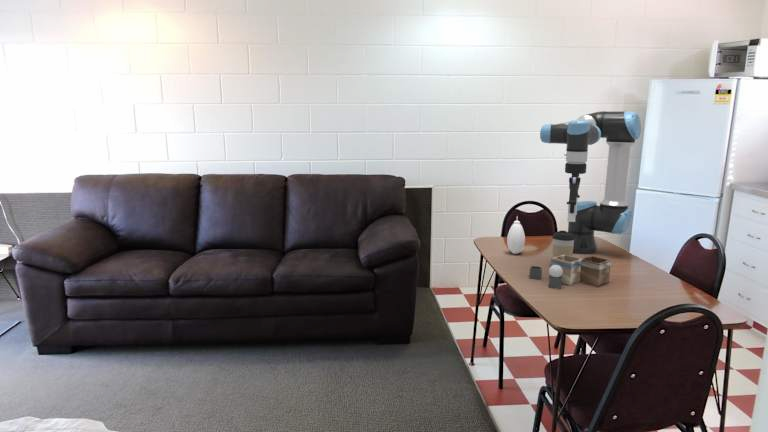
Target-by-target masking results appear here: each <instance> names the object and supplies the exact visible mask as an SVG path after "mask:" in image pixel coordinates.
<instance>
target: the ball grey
mask: <svg viewBox="0 0 768 432" xmlns="http://www.w3.org/2000/svg"><path fill="white" fill-rule="evenodd" d="M548 274H549V276H550V275H551V276H552V277H556V278H559V277H561V276H562V274H563V270H562V268H561V267H560V266H559V265H553V266H552V265H551V266H550V267H549V268H548Z"/></svg>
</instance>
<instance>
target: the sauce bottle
mask: <svg viewBox="0 0 768 432" xmlns="http://www.w3.org/2000/svg"><path fill="white" fill-rule="evenodd" d="M518 219H519V218H518V215H517V216H516V220H514V221H513V223H512V224H511V226H510V228H509V231H508V233H507V237H506V245H507V248H508V250H509V251H510V252H511V253H512V254H514V255H518V254H519V253H521V252H522V251H523V249H524V247H525V244H526V235H525V231H524V228H523V225H522V224H521V221H519V220H518Z"/></svg>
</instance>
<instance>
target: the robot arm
mask: <svg viewBox="0 0 768 432" xmlns="http://www.w3.org/2000/svg"><path fill="white" fill-rule="evenodd" d="M641 133H642V122H641V117H640V116H639V114H638V113H637V112H635V111H628V110H627V111H626V110H625V111H597V112H591V113H588V114H583V115H581V116H579V117H578V118H577V119H573V120H569V121H566V122H565V121H564V122H560V123H556V124H555V123H554V124H553V123H549V124H548V123H547V124H543V125H542V126H541V129H540V131H539V138H540V139H539V140H541V142H542V143H545V144H557V145H558V144H561V145H563V144H565V145H566V152H565V153H564V154H563V155H564V156H565V162H566V163H565V164H564V172H565V173H566V174H571V177H569V179H568V182H569V185H568V188H569V198H568V201H566V205H568V206H567V207H568V209H567V220H566V222H568V226H567V232H570V233H572V235H573V236H575V240H574V247H573V253H572V254H581V255H588V254H589V255H592V254H595V253H597V249H598V246H597V241H596V239H595V232H603V233H607V234H608V233H609V234H610V233H611V234H613V235H614V234H616V235H623V234H625V233H626V232H627V230H628V228H629V227H630V225H631V221H632V218H633V217H632V216H633V214H632V213H633V211H632V210H631V209H630V208H629V203H627V201H626V191H627V182H628V173H629V163H630V154H631V148H632V146H633V145H634V144H635V143H636V142H635V141H636V140H638V139H639V138H640V137H641ZM601 138H602V139H605V140H606V141H605V142H606V144H607V145H608V146H609V147H608V156H607V166H606V179H605V188H604V198H603V200H601V201H600V202H599V203H600V204H599V205H598V204H597V202H596V201H592V200H590V201H588V200H587V201H586V200H585V201H583V200H582V201H579V199H580V196H581V195H580V194H579V189H580V183H581V177H580V175H583V174H586V173H587V167H588V166H587V162H588V153H589V151H588V150H589V146H592V145H594V144H596V143H598V142H599V141H600V139H601Z"/></svg>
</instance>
